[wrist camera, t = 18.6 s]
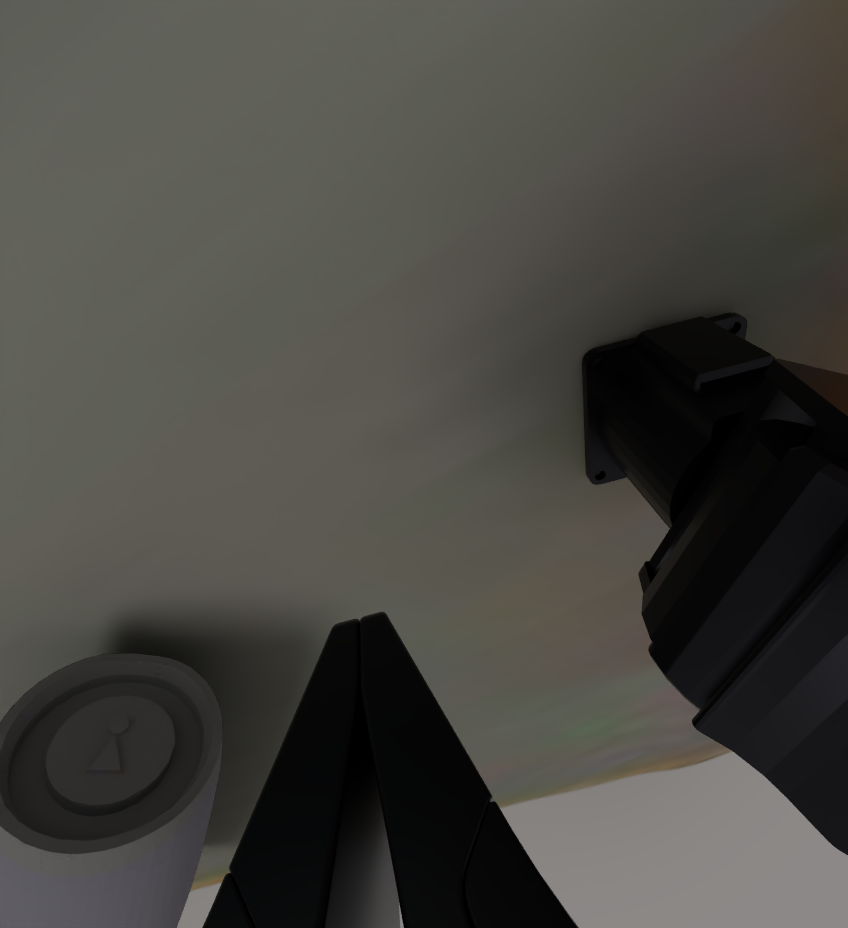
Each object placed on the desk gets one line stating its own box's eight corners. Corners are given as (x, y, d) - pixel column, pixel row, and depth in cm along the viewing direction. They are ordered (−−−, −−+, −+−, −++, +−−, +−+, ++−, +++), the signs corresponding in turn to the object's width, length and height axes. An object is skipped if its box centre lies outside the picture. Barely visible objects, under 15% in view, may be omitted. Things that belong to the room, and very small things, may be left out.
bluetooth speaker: (36, 617, 24) (-111, 881, 16) (249, 638, 27) (217, 870, 19) (37, 851, 35) (-50, 1080, 27) (189, 848, 38) (152, 1053, 30)
